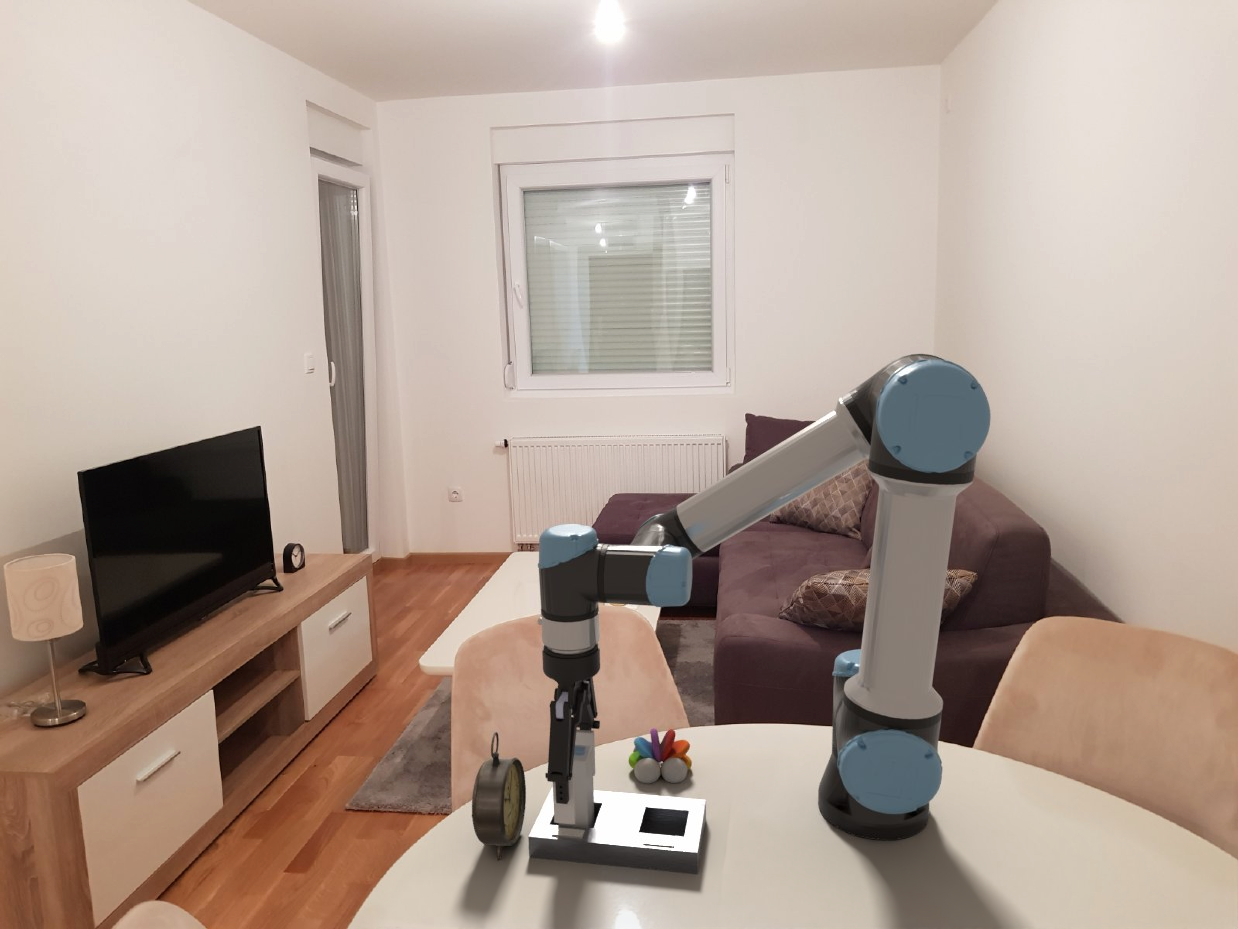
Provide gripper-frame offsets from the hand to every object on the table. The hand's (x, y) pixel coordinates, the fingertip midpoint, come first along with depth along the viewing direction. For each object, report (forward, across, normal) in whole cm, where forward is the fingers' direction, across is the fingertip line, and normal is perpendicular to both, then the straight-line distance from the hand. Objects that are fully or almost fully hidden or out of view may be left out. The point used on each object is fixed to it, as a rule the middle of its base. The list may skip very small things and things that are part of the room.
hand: (575, 797), depth 119 cm
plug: (+6, 0, 0) cm, 6 cm away
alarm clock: (+6, +3, -10) cm, 12 cm away
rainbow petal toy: (+6, -18, +9) cm, 21 cm away
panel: (+6, 0, +6) cm, 9 cm away
